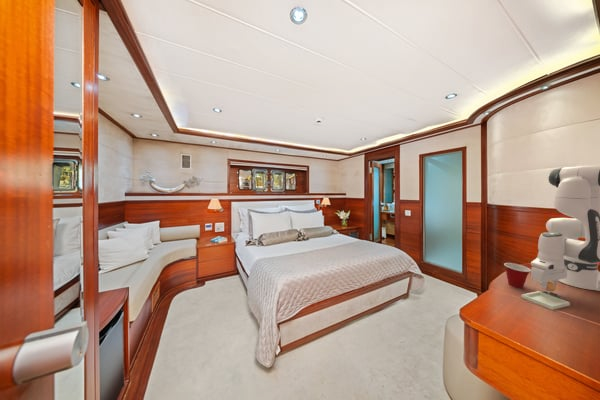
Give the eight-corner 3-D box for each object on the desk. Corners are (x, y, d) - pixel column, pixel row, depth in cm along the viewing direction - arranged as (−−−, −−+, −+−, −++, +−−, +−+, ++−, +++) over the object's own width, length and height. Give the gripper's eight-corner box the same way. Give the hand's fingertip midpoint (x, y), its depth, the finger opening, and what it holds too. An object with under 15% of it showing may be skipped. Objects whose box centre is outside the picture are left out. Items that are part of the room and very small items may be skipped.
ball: (545, 287, 110) (545, 278, 110) (558, 292, 105) (559, 283, 105) (538, 289, 109) (539, 280, 109) (552, 293, 104) (552, 284, 104)
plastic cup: (526, 292, 109) (527, 271, 109) (499, 284, 119) (500, 264, 118) (533, 288, 114) (534, 267, 113) (507, 280, 124) (508, 261, 123)
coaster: (545, 291, 110) (545, 289, 110) (565, 298, 103) (565, 296, 103) (537, 293, 108) (537, 291, 108) (556, 300, 101) (556, 298, 101)
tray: (537, 294, 107) (538, 291, 107) (569, 306, 96) (570, 302, 96) (521, 298, 104) (521, 294, 104) (552, 310, 93) (552, 306, 93)
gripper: (555, 258, 111) (554, 282, 112) (528, 262, 107) (527, 287, 108) (572, 262, 105) (571, 287, 106) (544, 267, 101) (543, 293, 102)
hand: (548, 287), depth 107 cm, fingers closed on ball, 5 cm apart
